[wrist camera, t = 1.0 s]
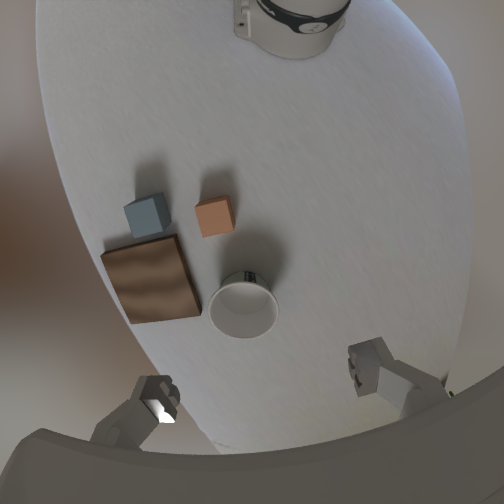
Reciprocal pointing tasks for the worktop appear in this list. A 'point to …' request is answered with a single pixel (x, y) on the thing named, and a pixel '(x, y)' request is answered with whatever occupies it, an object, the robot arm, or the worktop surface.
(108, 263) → the walnut board
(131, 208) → the slate block
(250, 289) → the food container
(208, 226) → the terracotta block
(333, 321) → the worktop surface
